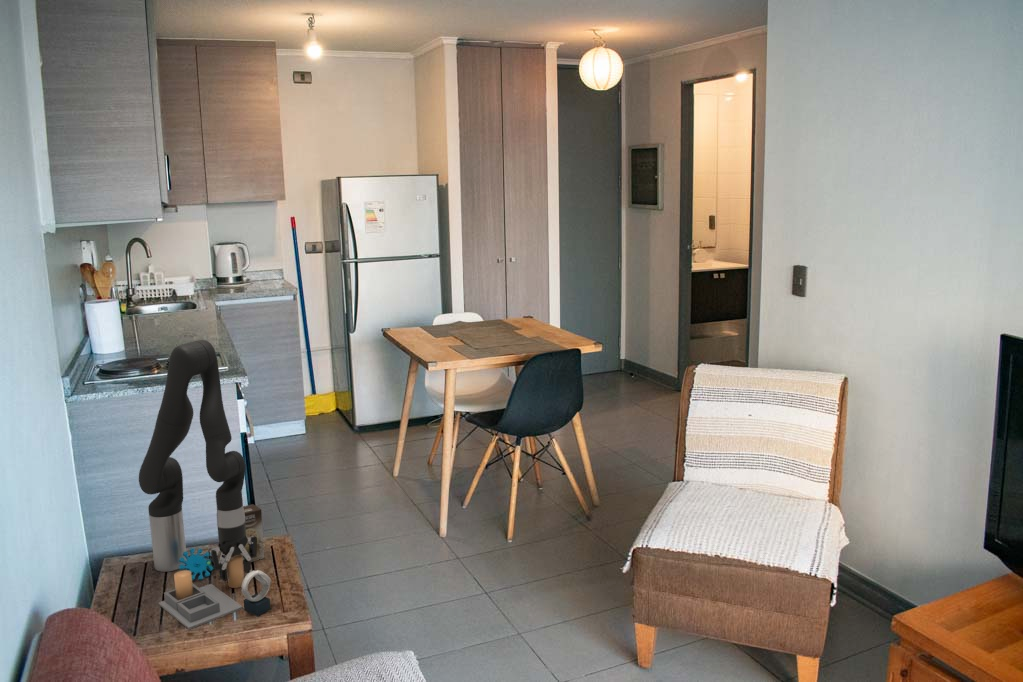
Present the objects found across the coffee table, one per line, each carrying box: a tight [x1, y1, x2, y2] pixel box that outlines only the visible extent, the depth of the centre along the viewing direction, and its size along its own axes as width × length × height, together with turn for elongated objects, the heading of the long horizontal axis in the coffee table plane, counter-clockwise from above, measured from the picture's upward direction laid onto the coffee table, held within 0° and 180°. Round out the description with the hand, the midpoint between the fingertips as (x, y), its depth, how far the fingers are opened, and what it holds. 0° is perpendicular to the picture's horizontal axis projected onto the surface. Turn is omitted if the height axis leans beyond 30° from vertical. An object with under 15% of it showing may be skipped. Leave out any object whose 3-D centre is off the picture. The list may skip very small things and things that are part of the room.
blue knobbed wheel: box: [178, 547, 214, 581], centre depth 247 cm, size 11×6×10 cm
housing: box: [158, 569, 244, 631], centre depth 228 cm, size 19×15×9 cm
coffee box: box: [240, 503, 265, 563], centre depth 255 cm, size 9×6×16 cm
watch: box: [240, 569, 272, 617], centre depth 225 cm, size 6×8×11 cm
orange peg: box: [226, 555, 245, 589], centre depth 240 cm, size 4×4×8 cm
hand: (235, 576), depth 240 cm, fingers open, 6 cm apart
